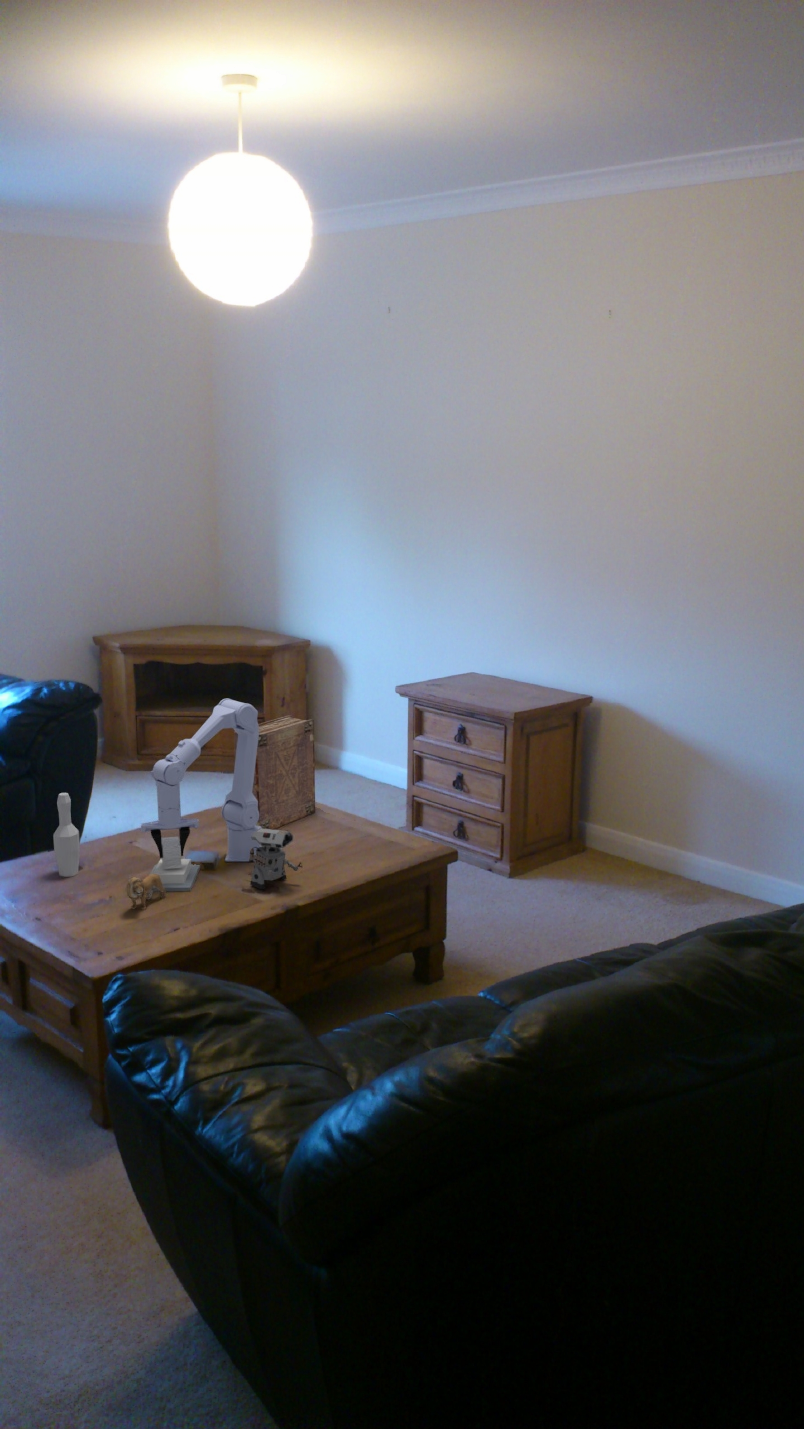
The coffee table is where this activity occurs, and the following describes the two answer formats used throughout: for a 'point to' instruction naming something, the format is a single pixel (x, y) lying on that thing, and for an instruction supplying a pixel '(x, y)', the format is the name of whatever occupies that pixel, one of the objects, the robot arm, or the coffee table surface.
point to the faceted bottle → (66, 839)
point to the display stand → (177, 876)
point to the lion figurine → (143, 889)
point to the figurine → (270, 856)
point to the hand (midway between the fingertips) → (171, 855)
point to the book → (284, 771)
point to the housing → (171, 852)
